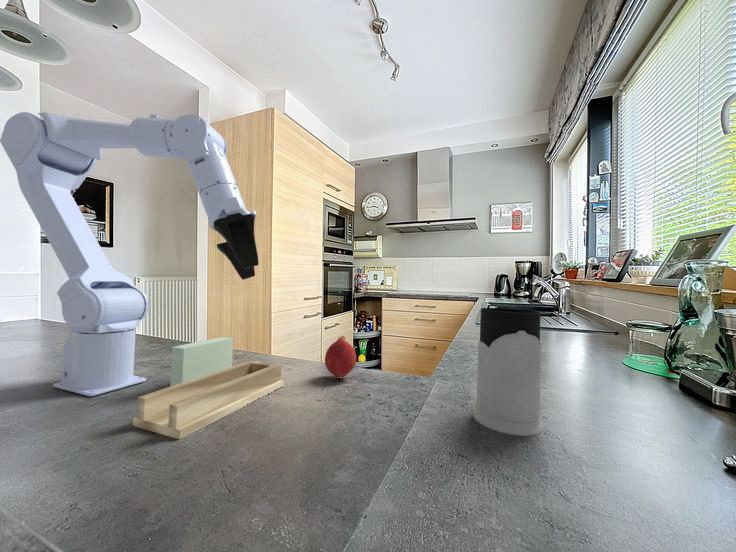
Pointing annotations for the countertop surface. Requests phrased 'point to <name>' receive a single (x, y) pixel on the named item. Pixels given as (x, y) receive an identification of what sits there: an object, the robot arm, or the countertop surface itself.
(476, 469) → the countertop surface
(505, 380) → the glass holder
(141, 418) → the floor track
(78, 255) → the robot arm
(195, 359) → the door panel
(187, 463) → the countertop surface
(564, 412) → the countertop surface
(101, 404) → the countertop surface
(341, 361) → the onion
